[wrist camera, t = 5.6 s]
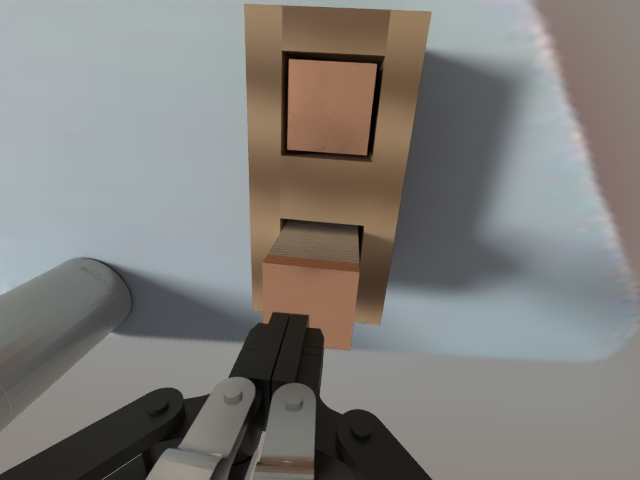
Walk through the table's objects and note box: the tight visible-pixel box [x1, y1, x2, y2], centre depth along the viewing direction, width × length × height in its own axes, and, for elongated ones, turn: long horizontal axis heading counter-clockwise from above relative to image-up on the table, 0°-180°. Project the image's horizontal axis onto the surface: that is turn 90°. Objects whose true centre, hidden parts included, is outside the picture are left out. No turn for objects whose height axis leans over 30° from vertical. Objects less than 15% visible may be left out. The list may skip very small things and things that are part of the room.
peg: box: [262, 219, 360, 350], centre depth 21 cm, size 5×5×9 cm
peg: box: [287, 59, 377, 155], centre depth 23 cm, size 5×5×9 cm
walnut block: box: [244, 4, 431, 325], centre depth 25 cm, size 20×10×9 cm, turn 177°
